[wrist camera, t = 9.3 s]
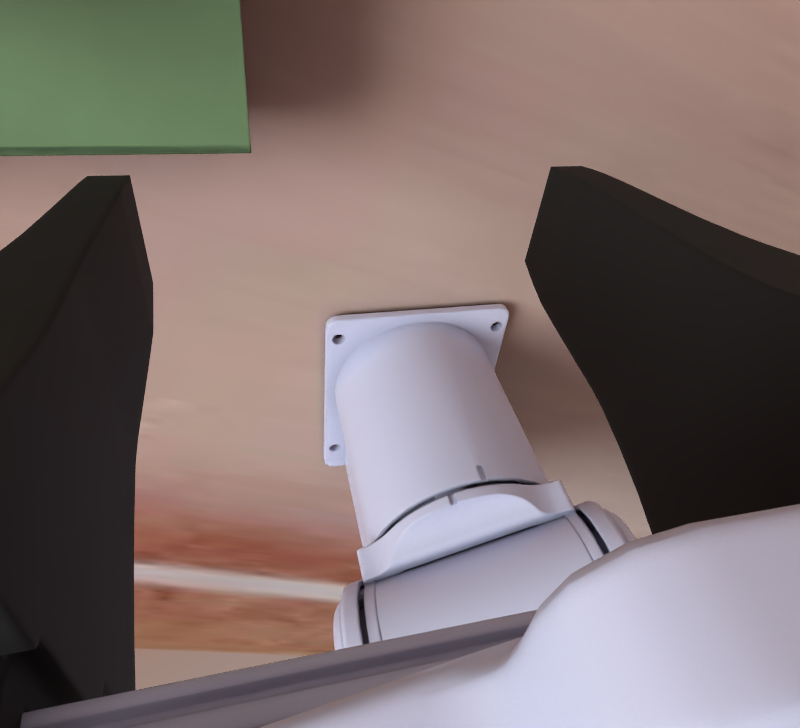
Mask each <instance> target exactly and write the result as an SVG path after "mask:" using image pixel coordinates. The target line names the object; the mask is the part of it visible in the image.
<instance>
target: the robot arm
mask: <svg viewBox="0 0 800 728" xmlns="http://www.w3.org/2000/svg"><path fill="white" fill-rule="evenodd" d="M525 263H526V265H527V268H528V271H529V274H530V277H531V279H532V282H533V285H534V287H535V290H536V292H537V294H538V297H539V299H540V302H541V304H542V305H543V307H544V309H545V311H546V313H547V314H548V316H549V318H550V320H551V321H552V323H553V325H554V326H555V328H556V330H557V332H558V333H559V335H560V337H561V338H562V340H563V342H564V343H565V345H566V347H567V348H568V350H569V352H570V353H571V355H572V357H573V358H574V360H575V362H576V363H577V365H578V367H579V368H580V370H581V372H582V373H583V375H584V377H585V378H586V380H587V382H588V383H589V385H590V387H591V388H592V390H593V392H594V394H595V396H596V398H597V399H598V401H599V403H600V405H601V407H602V409H603V411H604V413H605V416H606V418H607V420H608V422H609V425H610V427H611V429H612V431H613V434H614V436H615V438H616V440H617V443H618V445H619V447H620V450H621V452H622V455H623V457H624V460H625V462H626V465H627V467H628V470H629V472H630V475H631V477H632V480H633V482H634V485H635V487H636V490H637V492H638V495H639V498H640V501H641V503H642V506H643V509H644V512H645V515H646V518H647V521H648V523H649V526H650V529H651V532H652V535H650V536H647V537H643V538H640V539H637V540H636V538H635V537H634V535H633V534H632V532H631V531H630V530H629V528H628V527H627V526H626V524H625V523H624V522H623V521H622V520H621V519H620V518H619V517H618V516H617V515H615V514H614V513H612V512H610V511H608V510H606V509H604V508H602V507H601V506H600V505H598V504H597V503H595V502H592V501H586V502H583V503H581V504H578V505H576V506H573V504H572V502H571V500H570V498H569V496H568V494H567V492H566V490H565V488H564V486H563V484H562V483H561V481H559V480H556V481H552V482H548V480H547V478H546V476H545V474H544V472H543V470H542V468H541V466H540V464H539V462H538V460H537V457H536V455H535V453H534V451H533V449H532V447H531V445H530V443H529V441H528V439H527V437H526V435H525V433H524V431H523V429H522V427H521V425H520V423H519V421H518V419H517V417H516V415H515V413H514V410H513V408H512V406H511V404H510V402H509V400H508V398H507V396H506V394H505V392H504V390H503V388H502V386H501V384H500V382H499V380H498V378H497V376H496V374H495V372H494V370H495V366H496V363H497V359H498V355H499V352H500V348H501V344H502V340H503V337H504V333H505V329H506V326H507V322H508V318H509V312H508V310H507V308H506V307H505V306H504V305H503V304H489V305H475V306H461V307H448V308H434V309H420V310H406V311H392V312H378V313H364V314H351V315H338V316H333V317H331V318H330V319H329V320H328V321H327V322H326V326H325V390H324V462H325V464H326V465H328V466H340V465H346V470H347V475H348V480H349V484H350V489H351V494H352V499H353V503H354V508H355V513H356V518H357V522H358V527H359V532H360V537H361V541H362V546H363V547H362V548H360V549H359V550H358V551H357V554H358V559H359V564H360V569H361V574H362V580H359V581H356V582H353V583H349V584H348V585H346V587H345V588H344V590H343V593H342V596H341V600H340V602H339V604H338V606H337V608H336V611H335V615H334V624H333V633H334V647H335V650H334V651H329V652H324V653H319V654H314V655H309V656H304V657H299V658H294V659H289V660H284V661H279V662H274V663H269V664H264V665H259V666H254V667H249V668H244V669H239V670H234V671H229V672H224V673H219V674H214V675H209V676H204V677H199V678H194V679H189V680H184V681H179V682H174V683H169V684H164V685H159V686H154V687H149V688H144V689H139V690H135V652H134V505H135V464H136V453H137V442H138V435H139V428H140V421H141V414H142V407H143V401H144V394H145V387H146V380H147V373H148V366H149V359H150V352H151V345H152V337H153V281H152V276H151V272H150V267H149V262H148V258H147V253H146V248H145V244H144V239H143V235H142V230H141V225H140V221H139V216H138V211H137V207H136V202H135V198H134V193H133V188H132V184H131V179H130V175H124V176H87V177H86V178H84V179H83V180H82V181H81V182H79V183H78V184H77V185H76V186H75V187H74V188H73V189H72V190H70V191H69V192H68V193H67V194H66V195H65V196H64V197H63V198H62V199H61V200H60V201H59V202H57V203H56V204H55V205H54V206H53V207H52V208H51V209H50V210H49V211H48V212H46V213H45V214H44V215H43V216H42V217H41V218H40V219H39V220H37V221H36V222H35V223H34V224H33V225H32V226H31V227H29V228H28V229H27V230H26V231H25V232H24V233H23V234H21V235H20V236H19V237H18V238H16V239H15V240H14V241H12V242H11V243H10V244H9V245H7V246H6V247H5V248H3V249H2V250H1V251H0V728H800V255H797V254H794V253H791V252H788V251H785V250H782V249H779V248H776V247H773V246H770V245H767V244H764V243H761V242H758V241H756V240H753V239H751V238H748V237H745V236H743V235H740V234H738V233H735V232H733V231H730V230H728V229H726V228H723V227H721V226H719V225H716V224H714V223H711V222H709V221H707V220H704V219H702V218H700V217H698V216H695V215H693V214H691V213H689V212H687V211H684V210H682V209H680V208H678V207H676V206H674V205H672V204H669V203H667V202H665V201H663V200H661V199H659V198H657V197H655V196H653V195H650V194H648V193H646V192H644V191H642V190H640V189H638V188H635V187H633V186H631V185H629V184H627V183H625V182H623V181H620V180H618V179H616V178H613V177H611V176H609V175H606V174H604V173H601V172H599V171H596V170H593V169H590V168H586V167H583V166H565V167H551V169H550V172H549V176H548V179H547V183H546V187H545V190H544V194H543V198H542V201H541V205H540V208H539V212H538V216H537V219H536V223H535V226H534V230H533V234H532V237H531V241H530V244H529V248H528V252H527V255H526V259H525ZM496 322H498V323H497V324H496V325H493V326H492V324H494V323H496ZM336 335H342V336H341V337H340V338H333V337H334V336H336ZM335 444H336V445H335Z"/></svg>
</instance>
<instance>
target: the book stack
mask: <svg viewBox="0 0 800 728" xmlns="http://www.w3.org/2000/svg"><path fill="white" fill-rule="evenodd" d="M214 153H251V145H250V131H249V117H248V103H247V89H246V75H245V61H244V47H243V33H242V20H241V6H240V0H0V156H40V155H127V154H214Z"/></svg>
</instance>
